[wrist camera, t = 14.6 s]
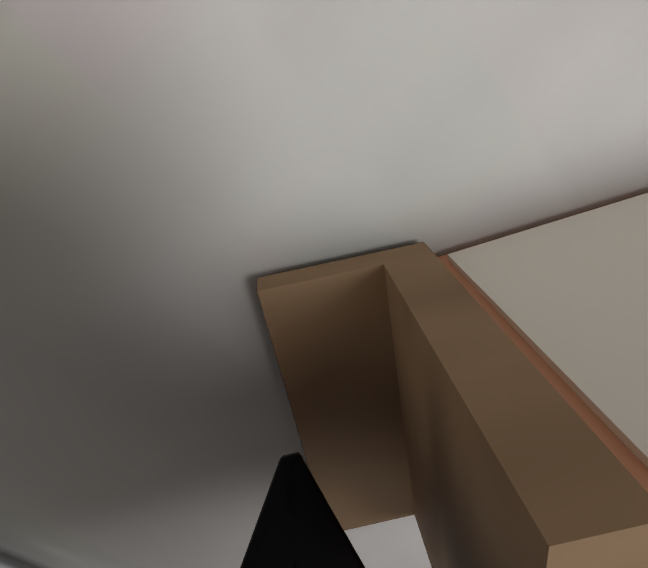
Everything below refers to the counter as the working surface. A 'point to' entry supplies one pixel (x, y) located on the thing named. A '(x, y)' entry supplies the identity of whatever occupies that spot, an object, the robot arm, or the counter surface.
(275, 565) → the robot arm
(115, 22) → the counter surface
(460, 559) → the bracket
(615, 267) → the rust book
